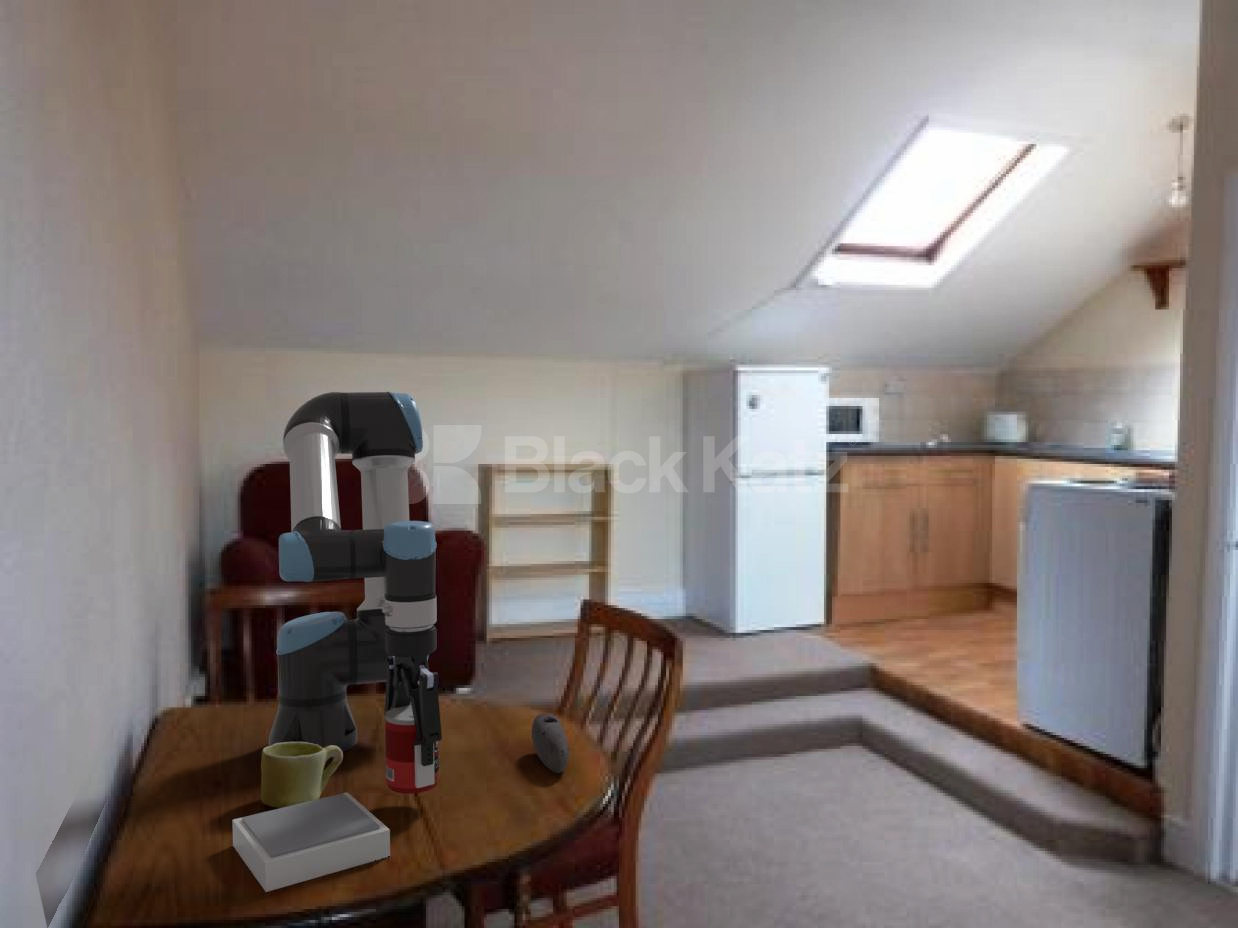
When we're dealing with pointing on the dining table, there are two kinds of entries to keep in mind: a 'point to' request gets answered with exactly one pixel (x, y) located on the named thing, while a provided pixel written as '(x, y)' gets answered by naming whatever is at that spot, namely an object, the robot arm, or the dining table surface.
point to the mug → (296, 772)
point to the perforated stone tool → (550, 742)
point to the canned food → (404, 752)
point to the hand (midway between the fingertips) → (412, 775)
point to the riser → (309, 840)
